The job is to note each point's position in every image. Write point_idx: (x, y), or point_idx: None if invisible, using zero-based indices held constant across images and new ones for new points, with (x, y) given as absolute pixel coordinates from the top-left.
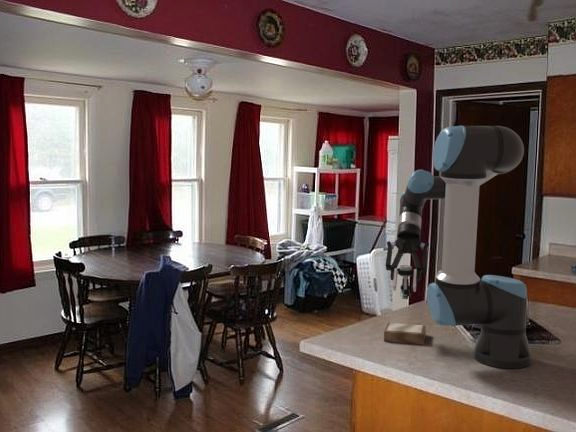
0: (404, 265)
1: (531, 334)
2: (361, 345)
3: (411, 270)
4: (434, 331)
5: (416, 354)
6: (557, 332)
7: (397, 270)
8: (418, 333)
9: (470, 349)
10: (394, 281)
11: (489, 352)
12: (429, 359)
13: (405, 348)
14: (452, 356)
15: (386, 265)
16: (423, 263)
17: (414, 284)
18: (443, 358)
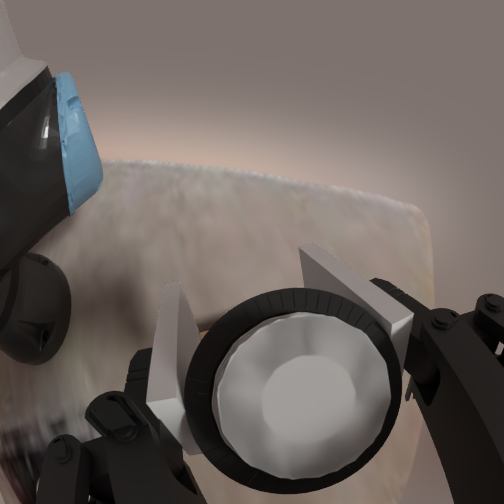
0: (349, 439)
1: (29, 486)
2: (328, 248)
3: (205, 369)
4: (205, 470)
5: (183, 255)
6: (12, 498)
7: (372, 323)
8: (200, 340)
9: (82, 351)
10: (322, 257)
11: (37, 258)
12: (149, 240)
13: (221, 283)
14: (108, 283)
15: (489, 294)
16: (66, 488)
17: (169, 291)
18: (123, 261)
